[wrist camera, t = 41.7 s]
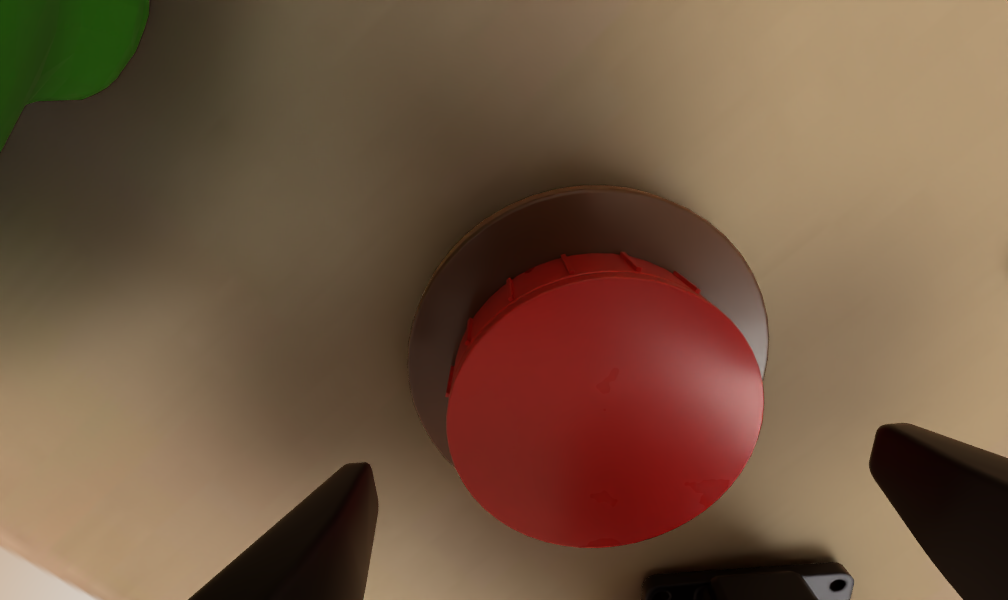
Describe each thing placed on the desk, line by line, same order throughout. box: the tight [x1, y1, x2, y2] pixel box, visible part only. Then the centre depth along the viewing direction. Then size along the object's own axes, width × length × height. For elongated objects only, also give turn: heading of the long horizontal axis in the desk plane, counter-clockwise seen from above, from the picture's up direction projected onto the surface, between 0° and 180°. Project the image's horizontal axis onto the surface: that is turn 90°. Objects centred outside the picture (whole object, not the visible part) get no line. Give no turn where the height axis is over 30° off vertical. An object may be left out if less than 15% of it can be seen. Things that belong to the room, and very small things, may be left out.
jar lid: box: [445, 252, 764, 548], centre depth 11 cm, size 7×7×2 cm
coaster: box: [407, 185, 769, 469], centre depth 12 cm, size 9×9×1 cm
